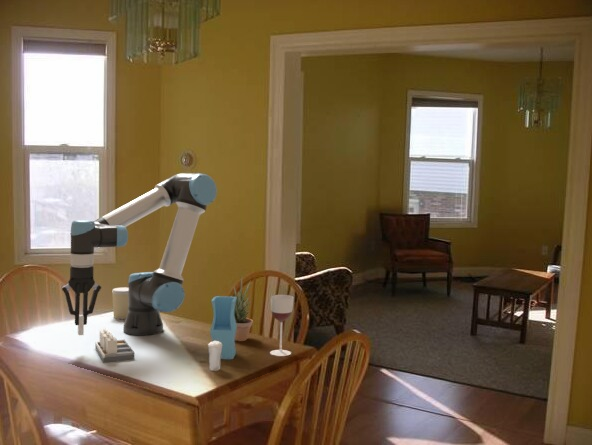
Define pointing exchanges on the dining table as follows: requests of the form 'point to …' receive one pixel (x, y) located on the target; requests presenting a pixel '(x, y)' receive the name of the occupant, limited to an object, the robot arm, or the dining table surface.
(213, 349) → the milkshake
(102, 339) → the tab
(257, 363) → the dining table surface
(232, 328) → the vase
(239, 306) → the potted plant
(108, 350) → the tab
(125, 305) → the coffee cup
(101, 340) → the tab
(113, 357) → the switch bank
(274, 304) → the wineglass
